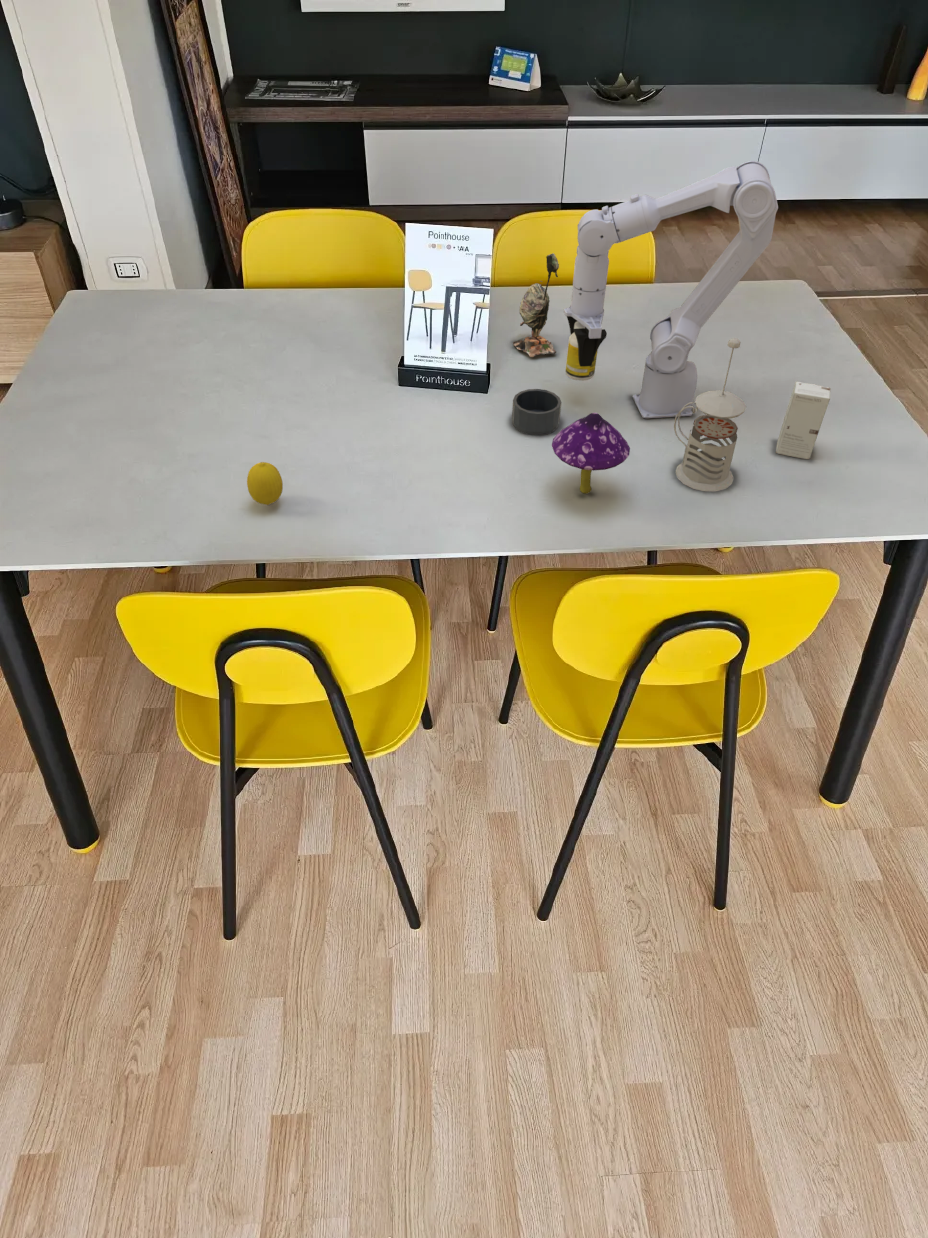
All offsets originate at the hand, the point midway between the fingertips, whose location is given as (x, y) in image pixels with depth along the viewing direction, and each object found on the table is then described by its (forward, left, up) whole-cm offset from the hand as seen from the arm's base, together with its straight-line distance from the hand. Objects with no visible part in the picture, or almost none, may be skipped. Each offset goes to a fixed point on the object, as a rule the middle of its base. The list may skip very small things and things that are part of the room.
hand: (581, 357), depth 173 cm
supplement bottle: (0, 0, -4) cm, 4 cm away
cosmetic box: (-35, +21, -9) cm, 42 cm away
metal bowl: (+9, +7, -9) cm, 15 cm away
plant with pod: (+4, -22, -9) cm, 24 cm away
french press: (-16, +26, -9) cm, 32 cm away
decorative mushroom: (+5, +29, -9) cm, 31 cm away
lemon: (+57, +27, -9) cm, 64 cm away
